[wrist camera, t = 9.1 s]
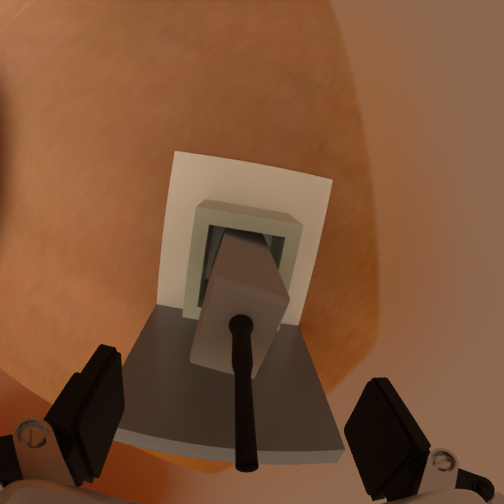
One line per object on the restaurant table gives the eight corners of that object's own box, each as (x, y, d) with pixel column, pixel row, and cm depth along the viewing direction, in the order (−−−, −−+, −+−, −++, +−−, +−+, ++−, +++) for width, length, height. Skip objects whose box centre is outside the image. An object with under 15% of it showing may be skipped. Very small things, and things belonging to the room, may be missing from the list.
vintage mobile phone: (211, 265, 31) (160, 499, 7) (227, 220, 30) (192, 411, 5) (246, 277, 31) (269, 515, 7) (262, 232, 30) (346, 436, 6)
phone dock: (177, 151, 29) (90, 124, 10) (329, 179, 30) (445, 194, 12) (158, 312, 33) (98, 435, 15) (293, 332, 35) (336, 462, 16)
